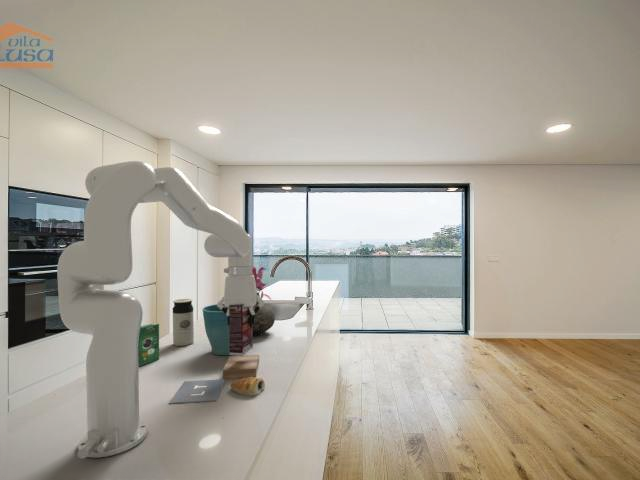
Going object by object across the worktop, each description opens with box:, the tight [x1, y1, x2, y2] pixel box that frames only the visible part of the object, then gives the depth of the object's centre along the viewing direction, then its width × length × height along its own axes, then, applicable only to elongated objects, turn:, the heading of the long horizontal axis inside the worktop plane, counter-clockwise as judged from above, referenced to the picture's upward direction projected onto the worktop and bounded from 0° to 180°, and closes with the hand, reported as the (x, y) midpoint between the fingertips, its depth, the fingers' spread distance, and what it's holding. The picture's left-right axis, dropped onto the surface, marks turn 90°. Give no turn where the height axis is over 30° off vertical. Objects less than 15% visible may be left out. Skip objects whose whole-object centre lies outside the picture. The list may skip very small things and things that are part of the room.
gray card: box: [168, 378, 226, 405], centre depth 99 cm, size 14×12×1 cm
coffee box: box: [138, 322, 160, 367], centre depth 123 cm, size 8×3×13 cm, turn 156°
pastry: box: [230, 377, 266, 397], centre depth 99 cm, size 9×7×4 cm
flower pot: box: [201, 303, 231, 356], centre depth 135 cm, size 18×18×17 cm
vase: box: [252, 266, 276, 336], centre depth 159 cm, size 17×17×30 cm
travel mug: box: [172, 298, 195, 347], centre depth 146 cm, size 8×8×18 cm
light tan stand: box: [222, 354, 260, 379], centre depth 114 cm, size 13×10×2 cm
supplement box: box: [229, 305, 254, 356], centre depth 114 cm, size 9×5×16 cm, turn 169°
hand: (241, 326), depth 114 cm, fingers closed on supplement box, 5 cm apart
